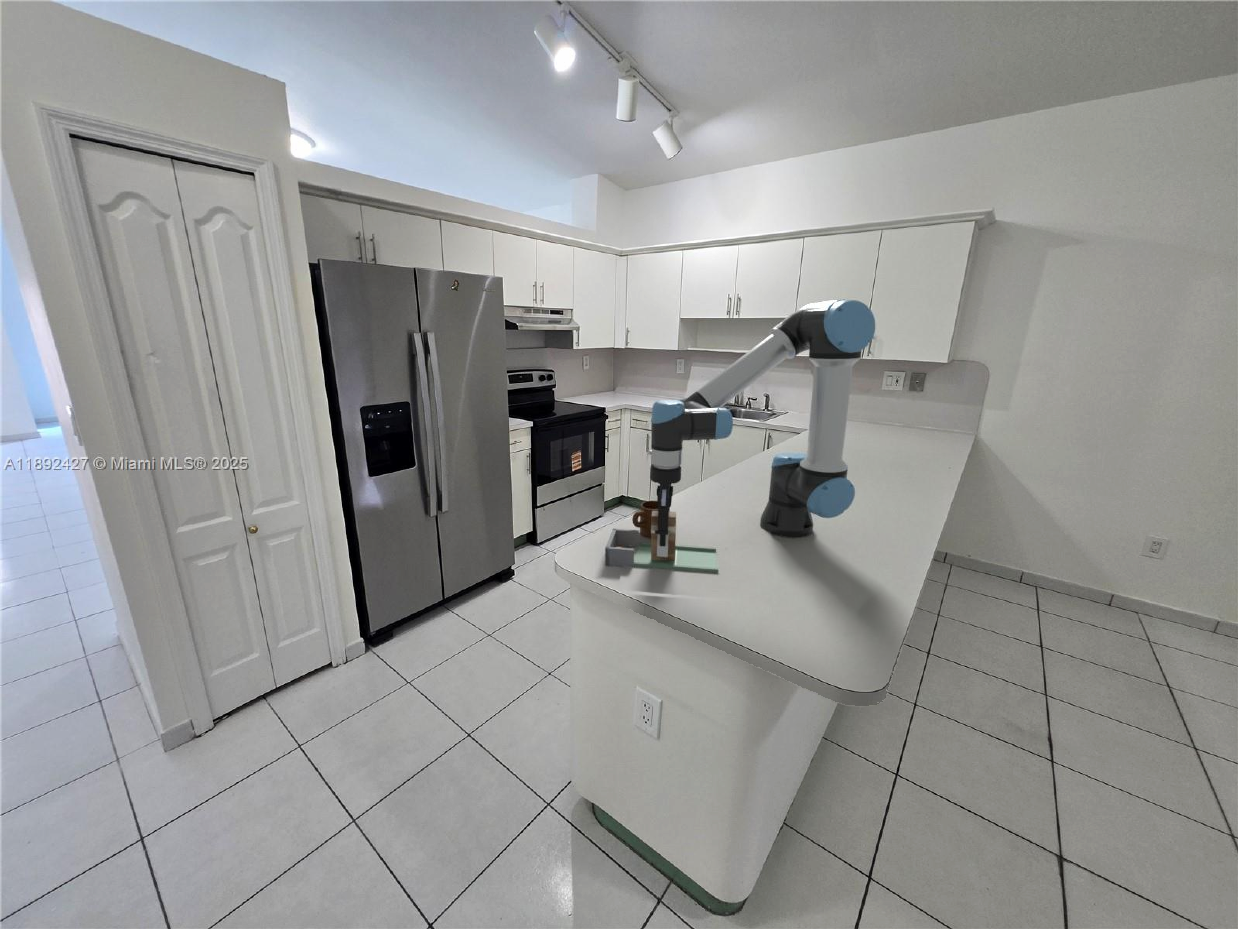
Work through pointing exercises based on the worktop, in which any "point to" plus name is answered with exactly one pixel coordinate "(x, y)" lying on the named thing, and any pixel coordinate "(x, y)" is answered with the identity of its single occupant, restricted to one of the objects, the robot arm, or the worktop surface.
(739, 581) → the worktop surface
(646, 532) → the mug
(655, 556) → the block
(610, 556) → the pitch
